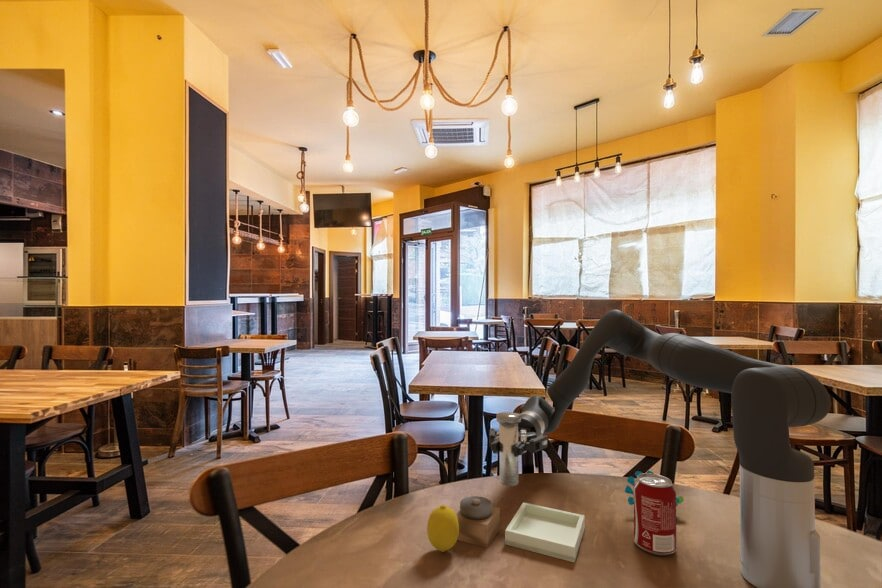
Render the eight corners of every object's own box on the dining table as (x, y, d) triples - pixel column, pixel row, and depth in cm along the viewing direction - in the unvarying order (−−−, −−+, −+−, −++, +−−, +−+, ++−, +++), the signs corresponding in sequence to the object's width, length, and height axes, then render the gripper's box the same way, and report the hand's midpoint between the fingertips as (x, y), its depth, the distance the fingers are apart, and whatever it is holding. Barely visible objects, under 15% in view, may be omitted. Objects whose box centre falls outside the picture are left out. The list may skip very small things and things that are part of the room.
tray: (584, 528, 82) (584, 515, 82) (574, 562, 72) (574, 547, 72) (523, 514, 88) (523, 502, 88) (505, 544, 77) (505, 530, 77)
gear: (626, 511, 86) (626, 463, 93) (620, 521, 90) (620, 475, 97) (687, 526, 83) (682, 476, 90) (678, 536, 87) (674, 488, 94)
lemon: (437, 539, 78) (437, 495, 78) (464, 548, 75) (464, 502, 76) (420, 554, 74) (421, 507, 74) (448, 565, 71) (449, 516, 71)
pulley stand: (499, 529, 82) (499, 496, 82) (487, 547, 76) (487, 512, 76) (465, 520, 85) (466, 489, 85) (451, 538, 79) (451, 504, 79)
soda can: (681, 561, 72) (681, 489, 72) (638, 556, 74) (638, 485, 74) (669, 539, 79) (668, 473, 79) (629, 535, 80) (629, 470, 80)
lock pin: (524, 479, 93) (523, 413, 93) (517, 488, 88) (517, 419, 89) (501, 475, 95) (500, 411, 96) (493, 484, 90) (493, 416, 91)
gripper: (498, 410, 108) (473, 428, 93) (555, 417, 102) (538, 436, 86) (498, 440, 108) (473, 463, 92) (556, 449, 102) (539, 474, 86)
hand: (505, 450), depth 89 cm, fingers closed on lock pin, 4 cm apart
